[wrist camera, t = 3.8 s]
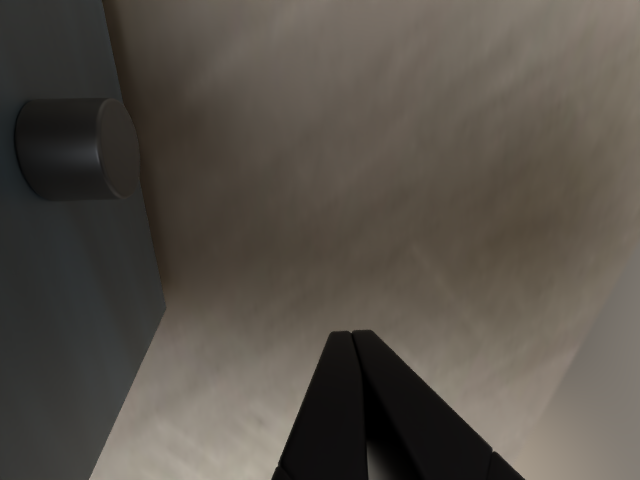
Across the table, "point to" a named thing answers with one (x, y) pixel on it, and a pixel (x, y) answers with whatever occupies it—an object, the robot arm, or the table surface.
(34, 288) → the drawer
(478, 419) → the table surface
